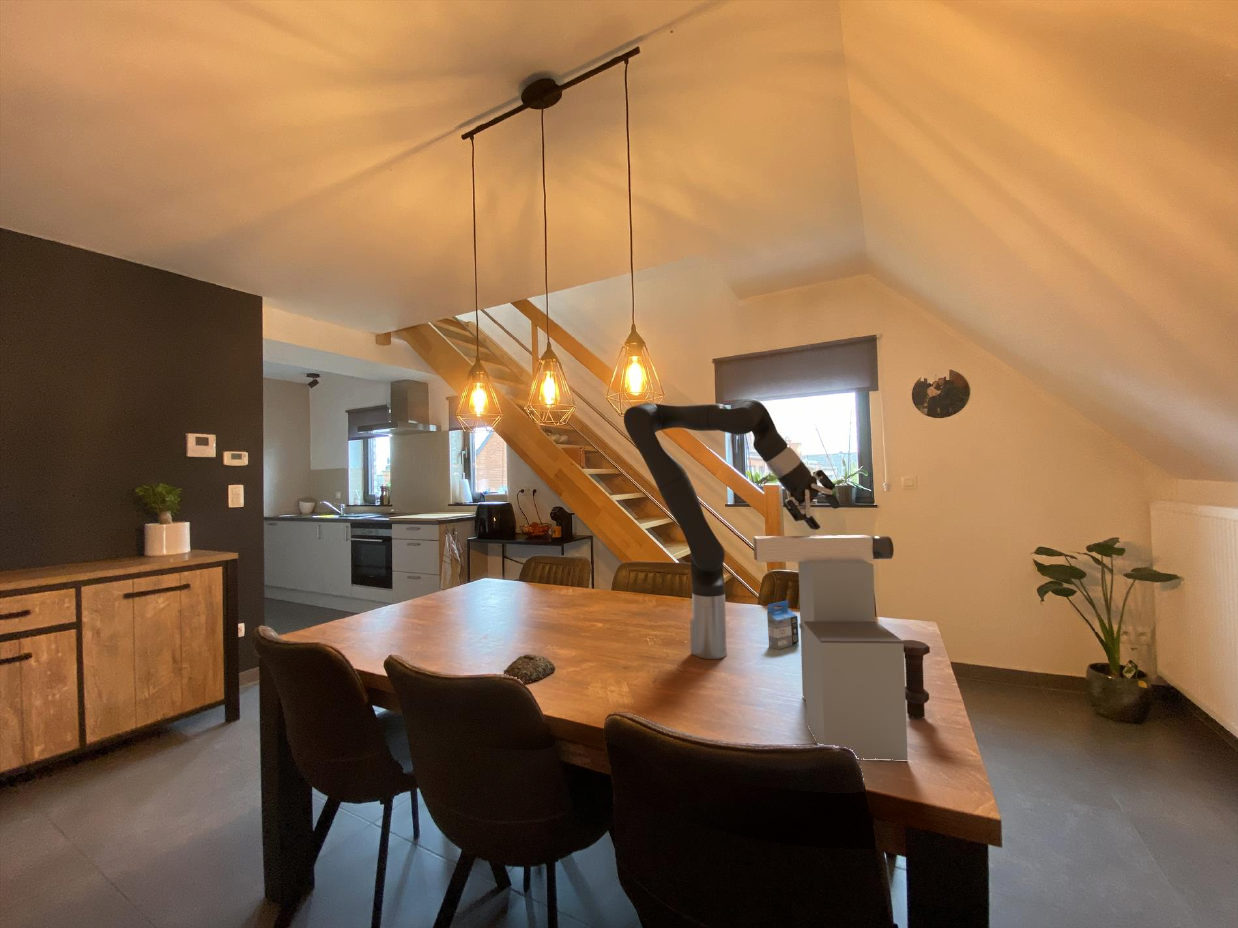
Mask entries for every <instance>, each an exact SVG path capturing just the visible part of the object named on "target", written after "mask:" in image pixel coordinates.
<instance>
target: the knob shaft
mask: <svg viewBox="0 0 1238 928" xmlns="http://www.w3.org/2000/svg"><path fill="white" fill-rule="evenodd" d="M894 550H895V549H894V543H893V539H892V538H891V537H890V536H886V535H885V536H884V535H883V536H880V535H879V536H878V535H877V536H870V535H868V534H867V535H866V534H859V535H858V534H851V535H850V534H849V535H848V534H847V535H845V534H843V535H842V534H841V535H839V534H838V535H835V534H834V535H770V536H769V535H768V536H766V535H761V536H758V535H757V536H756V535H754V536H753V559H754V560H755V561H756V563H762V562H763V563H769V562H771V563H772V562H774V563H776V562H777V563H779V562H784V563H785V562H786V563H787V562H788V563H791V562H792V563H793V562H795V563H796V562H797V563H798V562H810V561H867V562H874V560H892V558H893V557H894Z"/></svg>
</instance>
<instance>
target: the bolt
mask: <svg viewBox="0 0 1238 928" xmlns="http://www.w3.org/2000/svg"><path fill="white" fill-rule="evenodd" d="M901 640H902V641H903V643H904V667H905V699H906V715H908V717H910V718H913V719H915V720H919V719H923V718H925V717H926V715H925V711H926V710H925V704H927V702H928V701H929V700H930V693H929V692H928V691H927V690H926V689H925V687H924V685H925V684H924V656H925V655H928V654H930V652H931V649H930V646H929V645H928V644H926V643H925V642H923V641H919V640H915V639H901Z"/></svg>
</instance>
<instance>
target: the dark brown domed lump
mask: <svg viewBox="0 0 1238 928" xmlns="http://www.w3.org/2000/svg"><path fill="white" fill-rule="evenodd" d="M554 671H555V672H556V666H555V664H554V663H553V662H552V661H551V660H550V659H548V658H547V657H545V656H541V655H535V654H530V653H529V654H528V653H527V654H524V655H520V656H518V657H517V658H516V659H514V661H512V662H511V663H510V664H509V665H508V666H507V667H506V669H504V670H503V675H504V674H506V675H509V676H513V677H517V679H520V680H521V681H522V682H523V683H526V684H529V683H528V682H530V681H534V680H537V681H539V680H542V679H543V678H542V677H545V676H546V677H548V676H549V674H550V675H552V674H553V673H555V672H554ZM552 672H553V673H552ZM551 673H552V674H551ZM547 675H548V676H547ZM546 677H545V678H546ZM541 678H542V679H541ZM538 679H539V680H538ZM534 682H535V681H534Z"/></svg>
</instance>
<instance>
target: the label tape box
mask: <svg viewBox="0 0 1238 928" xmlns="http://www.w3.org/2000/svg"><path fill="white" fill-rule="evenodd" d="M766 607H767V611H766V612H767V613H766V616H767V630H768V631H767V633H768V634H767V635H768V646H769V647H770V648H773V649H776V650H781V649H785V648H788V647H791V646H795V645H799V643H800V641H799V640H800V638H799V620H798V618H799V617H798V615H797V614H795V613H794V612H793V611H792V610H791V609H790V608H788V607H789V600H784V601H779V602H774V603H770V604H767V606H766ZM776 607H778V608H776Z"/></svg>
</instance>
